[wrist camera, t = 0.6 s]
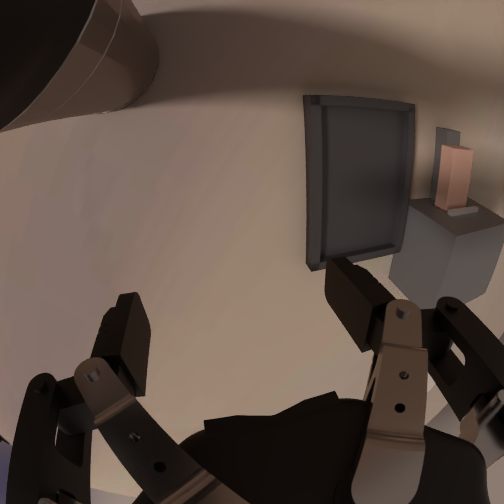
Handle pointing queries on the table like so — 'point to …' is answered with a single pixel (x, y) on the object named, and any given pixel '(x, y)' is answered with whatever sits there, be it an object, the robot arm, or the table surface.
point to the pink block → (453, 177)
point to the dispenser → (446, 245)
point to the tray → (356, 176)
